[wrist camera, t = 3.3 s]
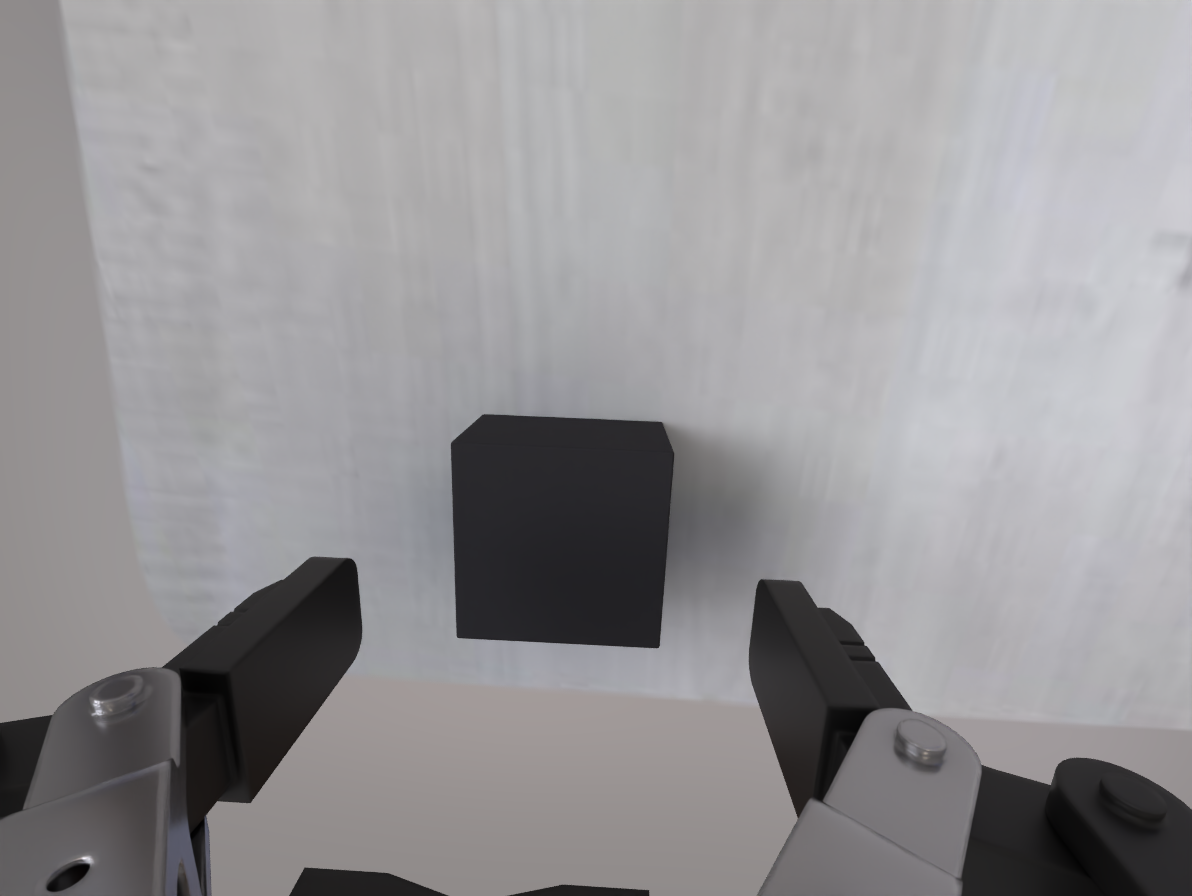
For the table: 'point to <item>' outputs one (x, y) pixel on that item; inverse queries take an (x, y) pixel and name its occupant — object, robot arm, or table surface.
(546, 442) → the plug pad
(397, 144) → the table surface
